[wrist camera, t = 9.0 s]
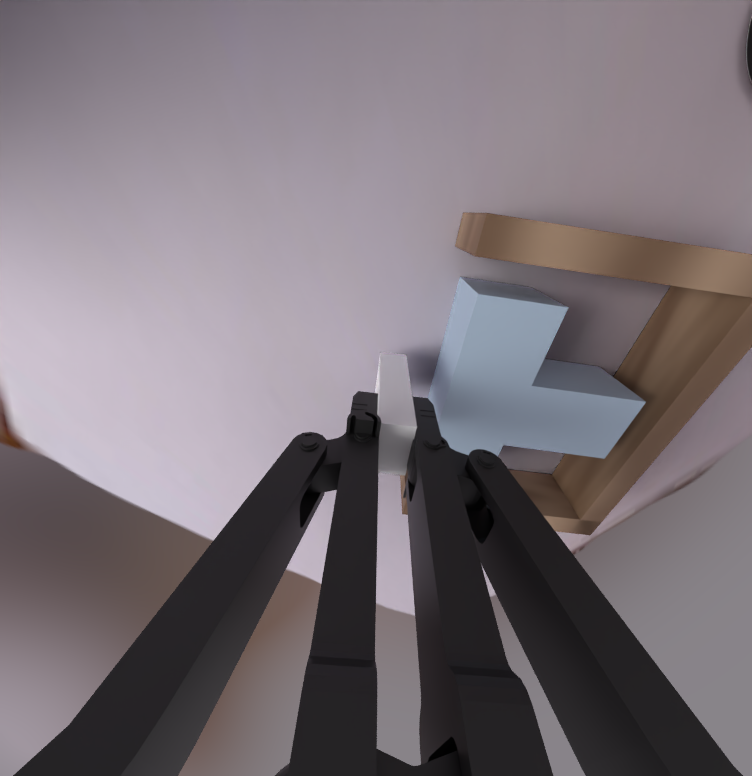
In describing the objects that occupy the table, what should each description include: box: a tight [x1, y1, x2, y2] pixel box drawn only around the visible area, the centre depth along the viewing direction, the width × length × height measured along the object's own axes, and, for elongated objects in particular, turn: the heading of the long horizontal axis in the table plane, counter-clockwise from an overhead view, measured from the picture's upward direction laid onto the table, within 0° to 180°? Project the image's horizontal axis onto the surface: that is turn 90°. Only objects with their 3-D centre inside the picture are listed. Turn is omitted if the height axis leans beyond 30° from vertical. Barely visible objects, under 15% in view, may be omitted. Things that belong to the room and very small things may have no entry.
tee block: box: [428, 277, 646, 459], centre depth 18 cm, size 10×12×4 cm
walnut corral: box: [400, 213, 752, 535], centre depth 18 cm, size 14×18×4 cm
